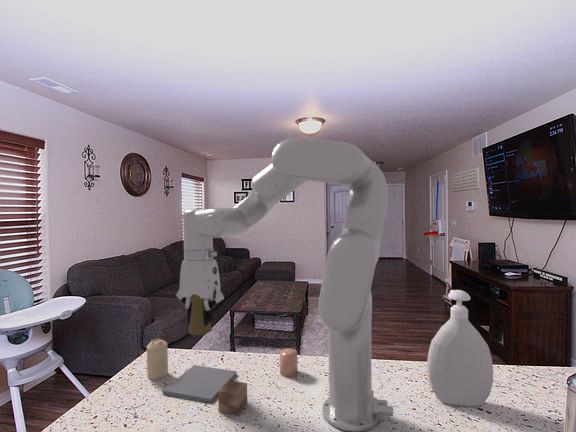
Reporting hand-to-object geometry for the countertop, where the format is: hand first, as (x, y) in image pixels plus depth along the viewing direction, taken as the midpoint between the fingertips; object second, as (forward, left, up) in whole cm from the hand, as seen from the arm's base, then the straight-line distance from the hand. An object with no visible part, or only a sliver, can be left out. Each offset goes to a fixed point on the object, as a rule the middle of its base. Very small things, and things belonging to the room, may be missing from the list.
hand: (200, 322), depth 88 cm
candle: (+15, -1, -17) cm, 23 cm away
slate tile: (0, 0, -17) cm, 17 cm away
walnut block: (-13, +7, -17) cm, 22 cm away
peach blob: (-21, -12, -17) cm, 30 cm away
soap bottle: (-65, -10, -17) cm, 67 cm away
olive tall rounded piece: (0, 0, -2) cm, 2 cm away
